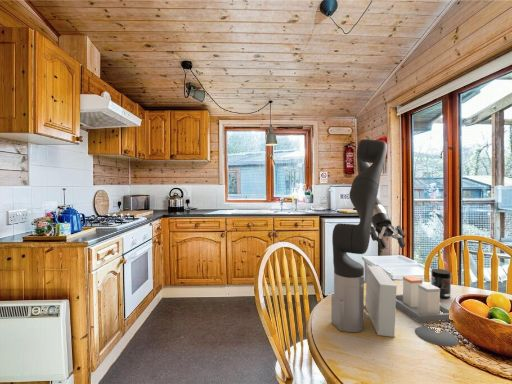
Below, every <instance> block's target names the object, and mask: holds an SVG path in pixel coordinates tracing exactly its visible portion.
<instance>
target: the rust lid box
mask: <svg viewBox="0 0 512 384" xmlns="http://www.w3.org/2000/svg"><path fill="white" fill-rule="evenodd" d="M419 284H423V279H421V278H419V277H417V276H415V275H411V276H409V275H408V276H402V294H403V303H405V304H406V305H408V306H409V307H418V289H419V287H418V285H419Z"/></svg>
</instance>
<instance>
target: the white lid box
mask: <svg viewBox="0 0 512 384" xmlns="http://www.w3.org/2000/svg"><path fill="white" fill-rule="evenodd" d="M418 287H419V289H418V313H420V314H421V315H429V314H440V305H441V303H440V302H441V298H440V288H438V287H436V286H434V285H431V283H422V284H419V285H418Z"/></svg>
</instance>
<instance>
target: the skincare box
mask: <svg viewBox="0 0 512 384" xmlns="http://www.w3.org/2000/svg"><path fill="white" fill-rule="evenodd" d="M365 285H366V286H365V299H364V301H365V305H364V307H365V308H366V311H367V314H368V316H369V318H370V321H371V324H372V325H373V328H374V330H375V333H376V335H378V336H383V337H393V338H394V337H395V335H396V334H395V333H396V332H395V331H396V327H395V326H396V310H397V309H396V307H397V306H396V295H397V287H398V286H397V284H396V283H395V282H394V281H393V280H392V279H391V277H390V276H389V275H388V274H387V273H386V271H385V270H384V269H383V268H382V266H379V265H366V281H365Z"/></svg>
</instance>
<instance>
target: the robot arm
mask: <svg viewBox="0 0 512 384" xmlns="http://www.w3.org/2000/svg"><path fill="white" fill-rule="evenodd" d="M387 152H388V145H387V142H386V141H384V140H378V139H377V140H376V139H367V138H364V139H360V141H359V142H358V144H357V147H356V162H357V163H356V164H357V167H358V173H359V174H357V175H356V176H355V177H354V179H353V180H352V182H351V187H350V191H349V199H350V202H351V204H352V205H353V208H354V210H355V211H356V212H357V215H358V217H359V223H358V224H353V223H352V224H351V223H336V224H335V225H334V227H333V229H332V237H331V238H332V239H331V242H332V255H333V257H332V259H333V260H332V263H333V293H332V294H331V295H330V296H331V297H330V298H331V303H330V304H331V305H330V306H331V311H330V313H331V314H330V315H331V318H330V319H331V323H332V325H334V327H335V328H336V329H338V330H339V332H347V333H359V332H361V331H363V330H364V328H365V327H364V321H365V318H364V317H365V315H364V311H365V309H364V308H365V305H364V301H365V297H364V295H365V287H364V286H365V267H364V265H362V263H360V262H359V261H357V260H354V259H353V258H351V257H350V256H349V255H348V254H353V255H354V254H355V255H364V254H366V253H367V251H368V249H369V244H370V238H371V240H372V241H375V242H377V243H378V244H379V245H378V246H379V247H380V248H381V249H382V250H385V249H386V247H387V246H386V243H385V241H384V239H383V238H386V237H388V238H390V237H391V238H392V239H394V240H396V241H397V243H398V244H399V246H400V248H401V249H404V248H405V247H406V243H405V241H404V238H406V234H405V232H404V230H403V229H402V227H401V226H400V225H399V224H398V225H397V226H393V224H392V221H391V218H390V217H389V215H388V213H387V211H386V209H385V208H384V206H383V205H382V202H381V201H380V199H379V198H378V195H379V193H378V192H379V187H380V181H381V175H382V170H383V168H384V163H385V160H386V157H387V154H388V153H387ZM369 163H370V164H369ZM377 233H378V235H377Z"/></svg>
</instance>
